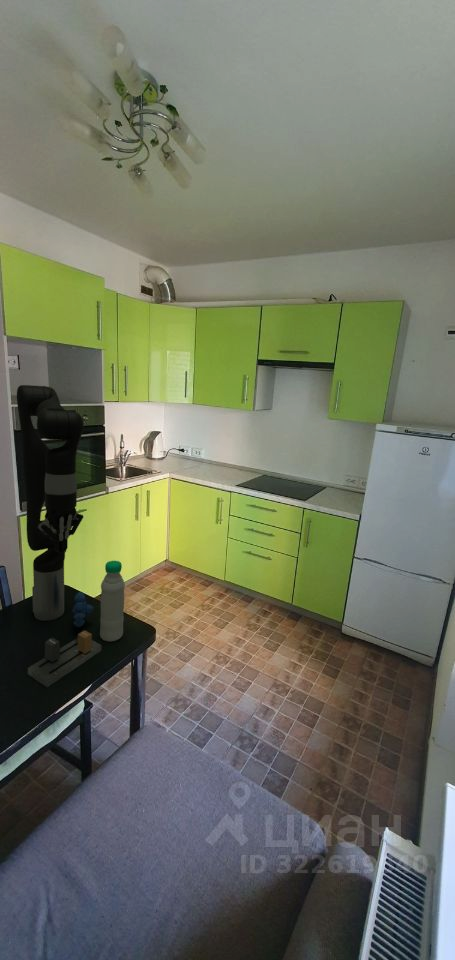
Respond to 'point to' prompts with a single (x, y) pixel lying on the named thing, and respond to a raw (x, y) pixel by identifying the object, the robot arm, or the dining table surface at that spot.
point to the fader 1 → (52, 649)
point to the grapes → (80, 609)
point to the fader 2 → (84, 641)
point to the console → (61, 663)
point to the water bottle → (112, 602)
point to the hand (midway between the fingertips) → (61, 552)
